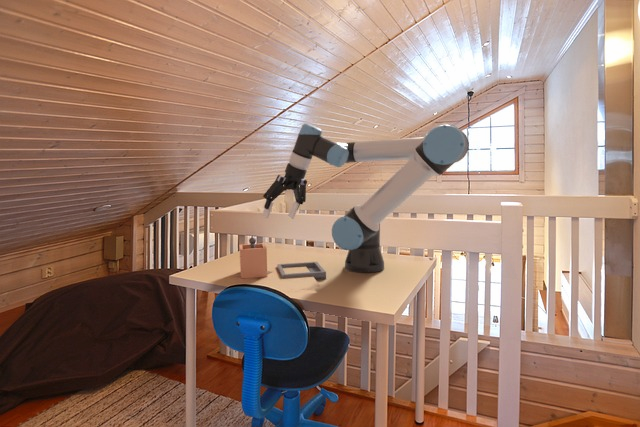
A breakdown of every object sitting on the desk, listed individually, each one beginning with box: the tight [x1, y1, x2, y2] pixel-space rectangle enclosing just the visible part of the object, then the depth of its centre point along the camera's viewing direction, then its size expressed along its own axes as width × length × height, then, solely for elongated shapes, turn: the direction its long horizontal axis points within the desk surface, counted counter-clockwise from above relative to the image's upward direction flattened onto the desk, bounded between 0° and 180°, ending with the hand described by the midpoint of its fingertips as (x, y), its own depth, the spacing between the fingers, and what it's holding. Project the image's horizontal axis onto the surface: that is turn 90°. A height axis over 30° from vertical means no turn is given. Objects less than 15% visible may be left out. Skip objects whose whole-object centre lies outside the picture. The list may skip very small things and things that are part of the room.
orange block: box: [239, 242, 268, 279], centre depth 141 cm, size 9×9×10 cm
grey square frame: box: [276, 261, 327, 281], centre depth 145 cm, size 15×15×2 cm
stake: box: [233, 237, 273, 280], centre depth 141 cm, size 10×10×15 cm
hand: (278, 216), depth 152 cm, fingers open, 13 cm apart
